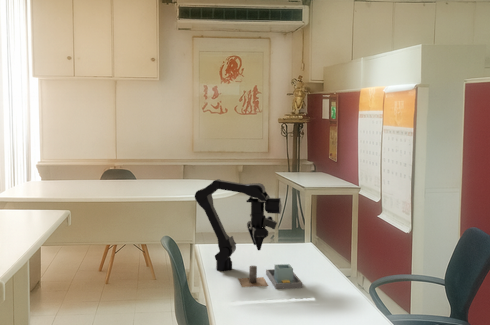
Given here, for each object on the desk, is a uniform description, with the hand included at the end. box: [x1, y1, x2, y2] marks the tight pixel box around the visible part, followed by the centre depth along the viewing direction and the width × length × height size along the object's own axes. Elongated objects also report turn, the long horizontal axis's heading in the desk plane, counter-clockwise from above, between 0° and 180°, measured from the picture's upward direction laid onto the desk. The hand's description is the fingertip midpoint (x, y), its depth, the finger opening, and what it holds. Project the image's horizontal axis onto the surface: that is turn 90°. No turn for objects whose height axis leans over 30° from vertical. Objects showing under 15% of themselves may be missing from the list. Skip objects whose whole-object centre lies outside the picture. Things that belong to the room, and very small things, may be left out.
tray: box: [265, 268, 304, 290], centre depth 208 cm, size 11×19×3 cm, turn 9°
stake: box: [237, 265, 269, 288], centre depth 205 cm, size 11×11×8 cm
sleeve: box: [274, 263, 294, 283], centre depth 206 cm, size 8×6×6 cm
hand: (257, 247), depth 218 cm, fingers open, 9 cm apart
